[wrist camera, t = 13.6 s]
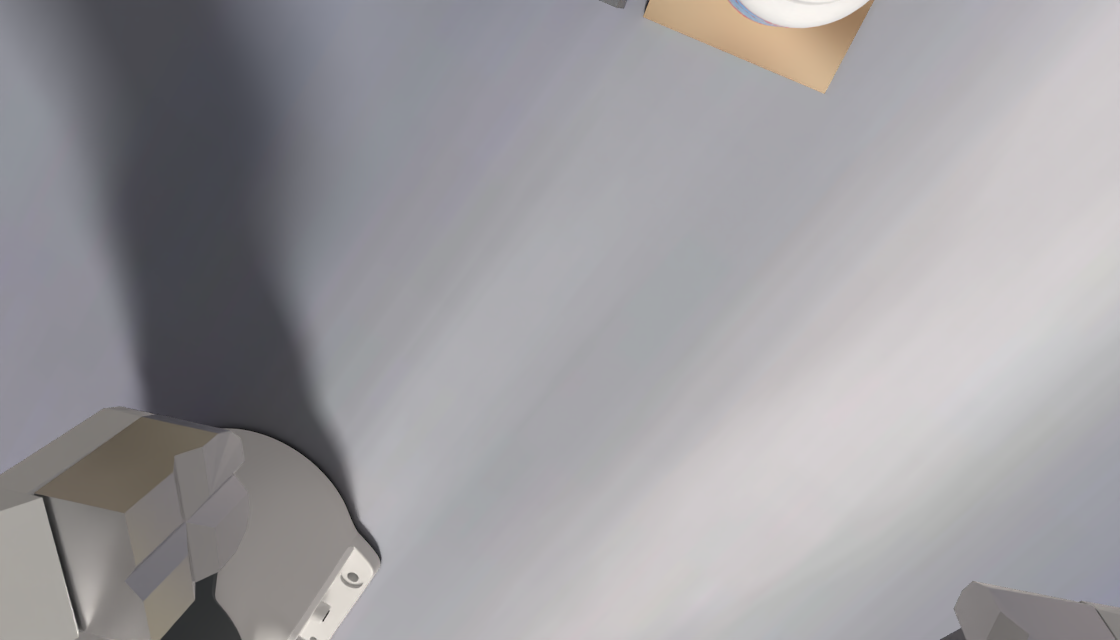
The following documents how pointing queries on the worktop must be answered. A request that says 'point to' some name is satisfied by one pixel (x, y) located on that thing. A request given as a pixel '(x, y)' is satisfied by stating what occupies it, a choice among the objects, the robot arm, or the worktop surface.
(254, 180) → the worktop surface
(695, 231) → the worktop surface
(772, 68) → the cork pad
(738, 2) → the pill bottle
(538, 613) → the worktop surface
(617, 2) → the grey square bottle holder
